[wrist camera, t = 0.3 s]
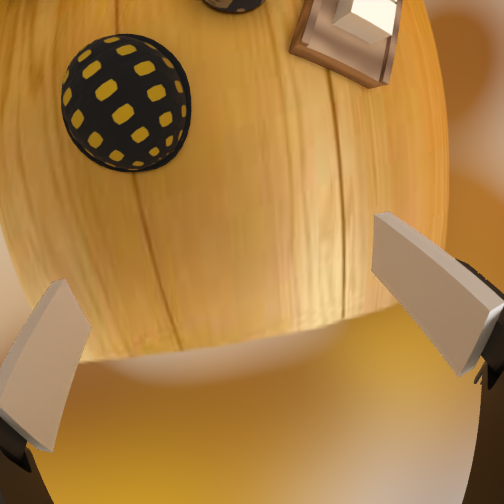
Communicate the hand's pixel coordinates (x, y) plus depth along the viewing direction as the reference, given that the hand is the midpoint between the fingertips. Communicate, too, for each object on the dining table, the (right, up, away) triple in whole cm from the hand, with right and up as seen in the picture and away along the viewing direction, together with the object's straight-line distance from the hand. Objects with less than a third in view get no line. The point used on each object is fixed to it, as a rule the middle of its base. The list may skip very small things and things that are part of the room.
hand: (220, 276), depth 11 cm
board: (+15, +34, +19) cm, 42 cm away
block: (+15, +32, +16) cm, 39 cm away
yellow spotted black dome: (-14, +20, +19) cm, 31 cm away
